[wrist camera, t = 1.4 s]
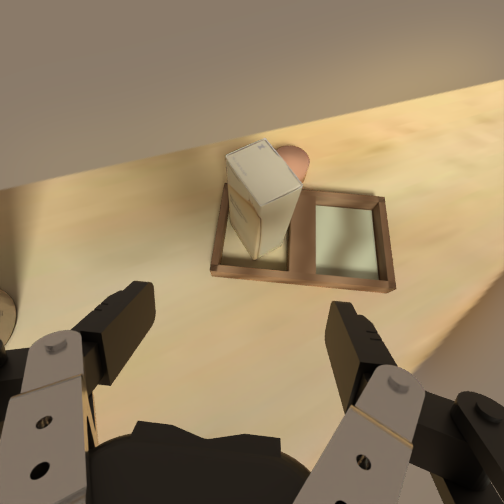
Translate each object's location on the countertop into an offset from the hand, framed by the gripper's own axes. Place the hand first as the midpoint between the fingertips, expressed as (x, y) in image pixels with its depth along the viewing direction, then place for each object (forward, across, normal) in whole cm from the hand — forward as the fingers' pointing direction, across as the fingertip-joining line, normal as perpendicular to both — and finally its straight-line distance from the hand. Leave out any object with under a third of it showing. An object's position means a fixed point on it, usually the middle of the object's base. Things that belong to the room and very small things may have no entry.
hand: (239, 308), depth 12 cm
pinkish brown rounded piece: (+29, -3, -4) cm, 29 cm away
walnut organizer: (+22, -5, +3) cm, 23 cm away
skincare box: (+22, 0, +3) cm, 22 cm away
